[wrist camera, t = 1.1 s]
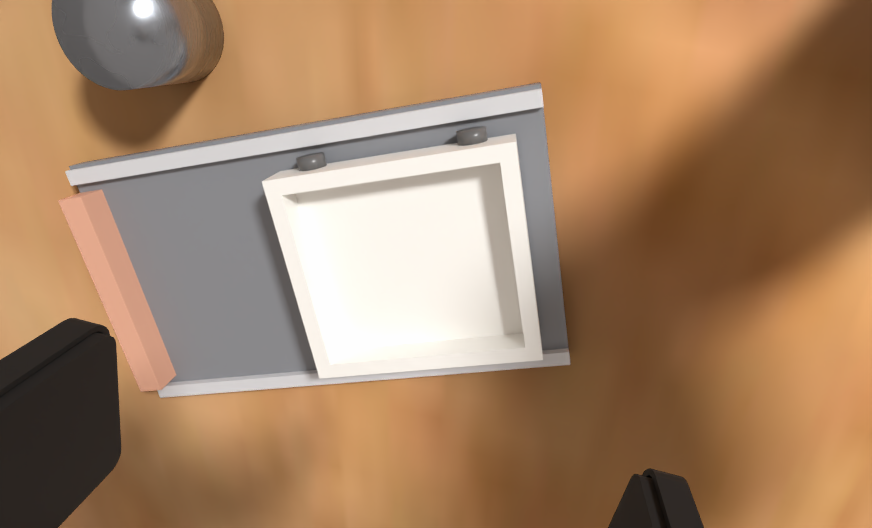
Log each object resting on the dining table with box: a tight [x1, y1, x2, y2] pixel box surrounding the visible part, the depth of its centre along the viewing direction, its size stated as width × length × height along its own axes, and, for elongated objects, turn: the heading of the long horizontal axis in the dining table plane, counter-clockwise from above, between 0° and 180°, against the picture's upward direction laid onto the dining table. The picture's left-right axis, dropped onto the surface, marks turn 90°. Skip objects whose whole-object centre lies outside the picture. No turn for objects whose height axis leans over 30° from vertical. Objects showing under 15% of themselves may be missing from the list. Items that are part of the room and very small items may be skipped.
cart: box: [262, 126, 543, 378], centre depth 28 cm, size 12×12×2 cm
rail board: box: [58, 82, 570, 398], centre depth 30 cm, size 25×15×3 cm, turn 100°
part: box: [52, 0, 224, 90], centre depth 25 cm, size 5×5×5 cm
